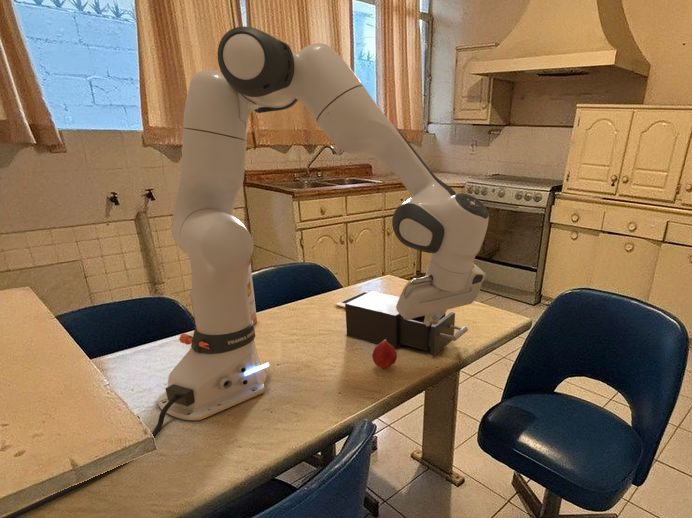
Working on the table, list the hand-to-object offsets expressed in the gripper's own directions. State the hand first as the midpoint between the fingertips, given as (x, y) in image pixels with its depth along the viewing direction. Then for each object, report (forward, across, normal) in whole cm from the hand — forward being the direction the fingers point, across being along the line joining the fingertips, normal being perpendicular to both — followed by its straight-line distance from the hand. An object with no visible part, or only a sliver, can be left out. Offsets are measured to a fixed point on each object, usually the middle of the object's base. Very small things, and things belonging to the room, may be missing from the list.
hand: (430, 323), depth 102 cm
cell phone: (+32, +14, +46) cm, 57 cm away
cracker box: (+32, -26, +44) cm, 61 cm away
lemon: (+28, +29, +36) cm, 54 cm away
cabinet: (+22, +6, +20) cm, 31 cm away
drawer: (+17, +11, +8) cm, 21 cm away
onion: (+16, -6, +4) cm, 18 cm away
